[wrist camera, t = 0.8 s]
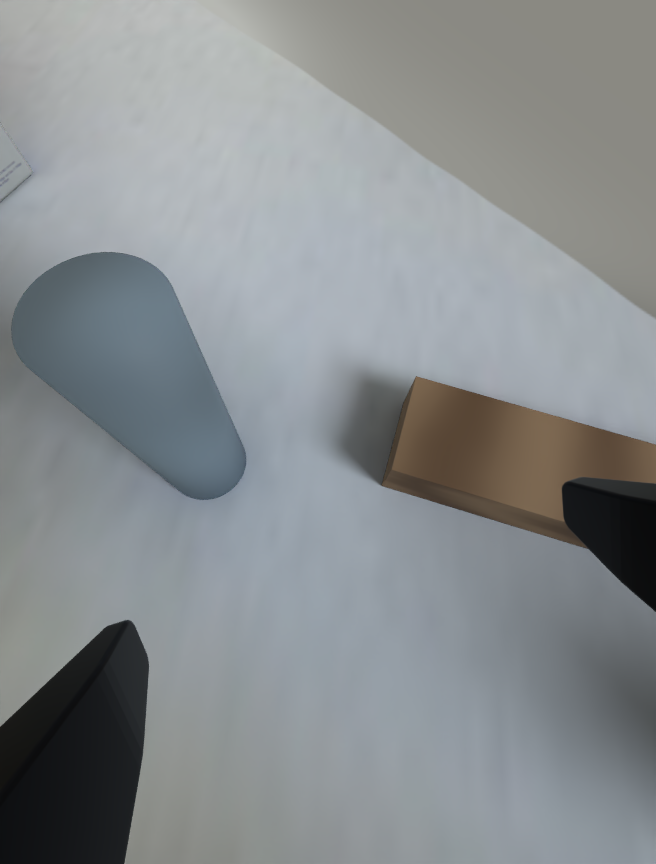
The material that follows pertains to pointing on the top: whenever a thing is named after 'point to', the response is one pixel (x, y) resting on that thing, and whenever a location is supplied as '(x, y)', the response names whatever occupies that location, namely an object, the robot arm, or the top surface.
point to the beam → (503, 457)
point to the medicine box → (11, 165)
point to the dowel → (131, 367)
